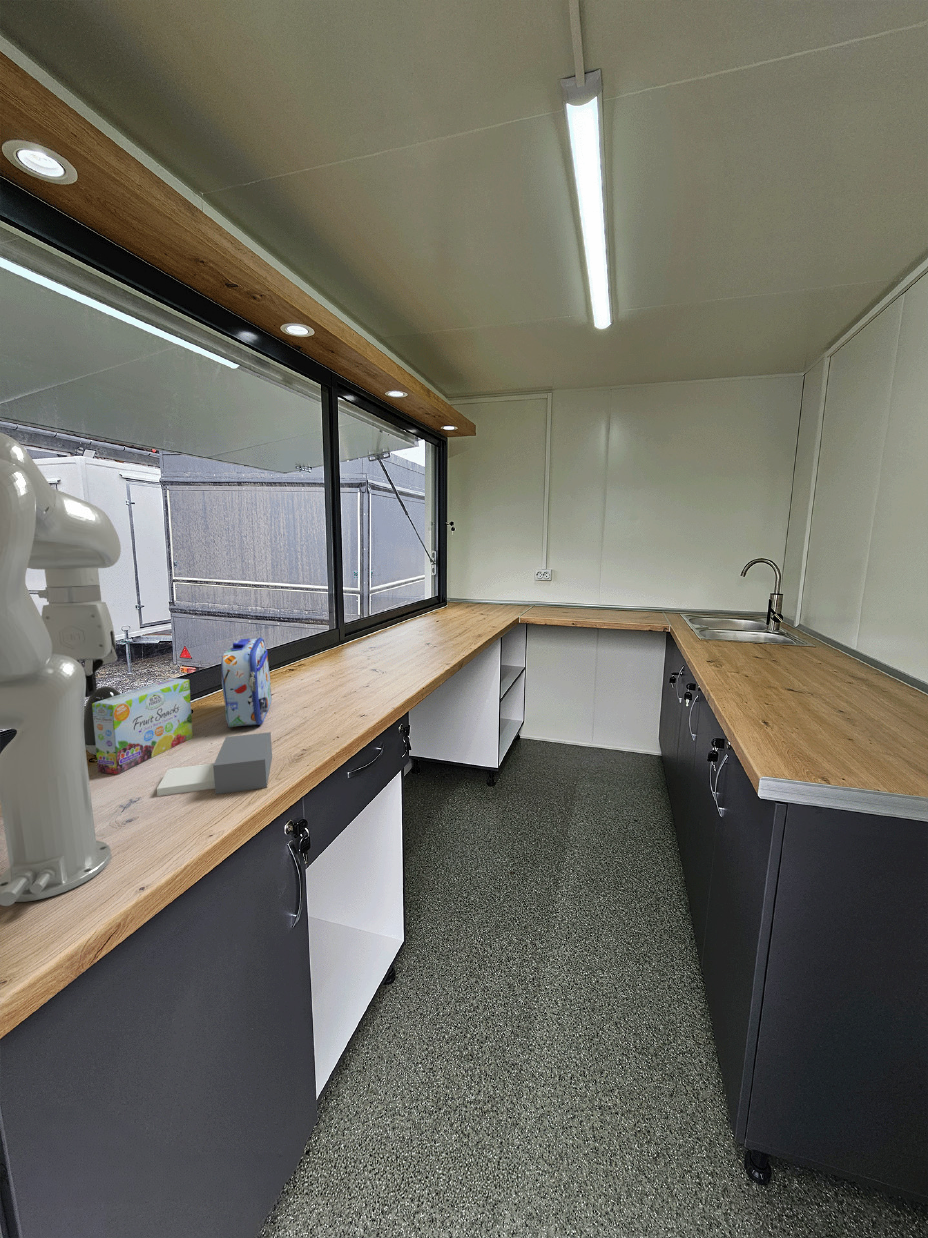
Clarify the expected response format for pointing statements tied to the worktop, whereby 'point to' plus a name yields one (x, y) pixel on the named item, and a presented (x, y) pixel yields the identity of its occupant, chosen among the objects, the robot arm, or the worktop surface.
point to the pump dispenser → (88, 716)
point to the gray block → (243, 763)
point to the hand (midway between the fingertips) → (86, 695)
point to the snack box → (141, 724)
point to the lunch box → (246, 682)
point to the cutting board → (187, 779)
